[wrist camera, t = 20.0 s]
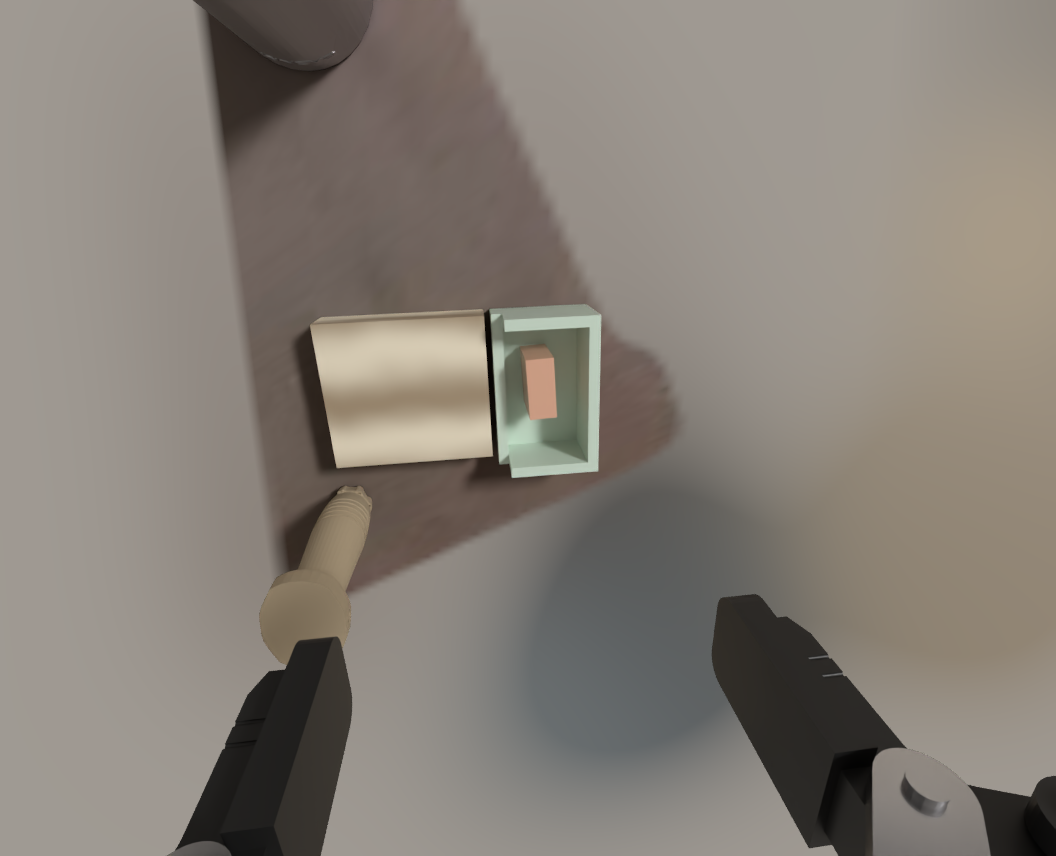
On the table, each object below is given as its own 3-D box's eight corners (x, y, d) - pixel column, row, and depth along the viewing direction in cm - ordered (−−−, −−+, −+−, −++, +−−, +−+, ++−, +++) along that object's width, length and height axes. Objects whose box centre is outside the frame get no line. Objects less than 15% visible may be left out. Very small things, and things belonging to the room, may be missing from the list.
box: (489, 308, 40) (492, 320, 35) (585, 304, 41) (601, 315, 36) (497, 451, 44) (501, 478, 40) (584, 445, 45) (597, 471, 41)
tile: (525, 360, 37) (553, 357, 37) (519, 346, 41) (544, 343, 41) (530, 420, 38) (557, 417, 39) (523, 400, 43) (548, 397, 43)
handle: (326, 532, 46) (266, 669, 32) (321, 465, 43) (253, 582, 29) (383, 531, 46) (349, 666, 32) (381, 466, 44) (343, 580, 30)
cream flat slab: (320, 317, 39) (309, 324, 36) (482, 309, 40) (484, 315, 37) (345, 452, 43) (336, 468, 40) (491, 441, 44) (492, 456, 41)
